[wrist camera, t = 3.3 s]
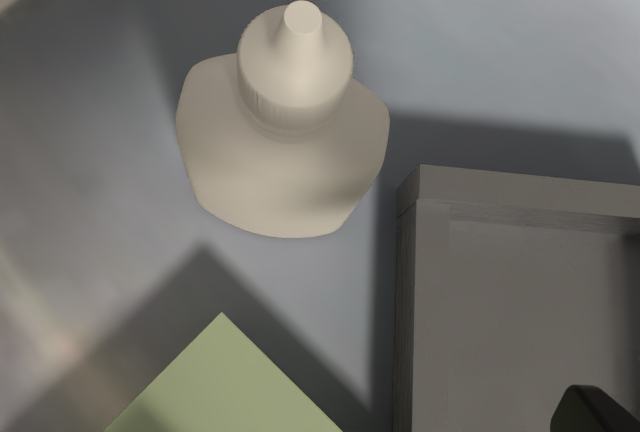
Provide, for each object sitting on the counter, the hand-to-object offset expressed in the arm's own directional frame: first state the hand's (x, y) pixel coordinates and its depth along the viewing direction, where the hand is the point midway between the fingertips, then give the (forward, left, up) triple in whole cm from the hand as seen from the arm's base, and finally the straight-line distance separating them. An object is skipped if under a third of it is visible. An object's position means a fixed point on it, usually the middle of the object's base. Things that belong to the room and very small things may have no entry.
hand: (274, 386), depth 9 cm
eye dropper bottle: (+5, +4, -13) cm, 14 cm away
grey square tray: (+8, -7, -12) cm, 16 cm away
